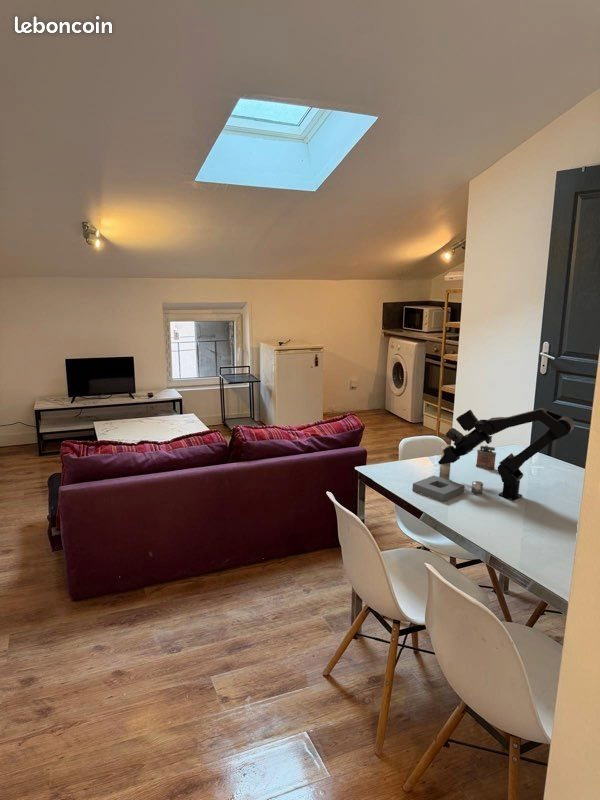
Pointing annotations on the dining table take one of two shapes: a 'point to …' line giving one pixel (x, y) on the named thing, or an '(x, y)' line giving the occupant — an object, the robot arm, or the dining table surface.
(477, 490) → the steel stub
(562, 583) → the dining table surface
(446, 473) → the birch pin
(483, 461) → the lighter
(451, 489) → the plate
